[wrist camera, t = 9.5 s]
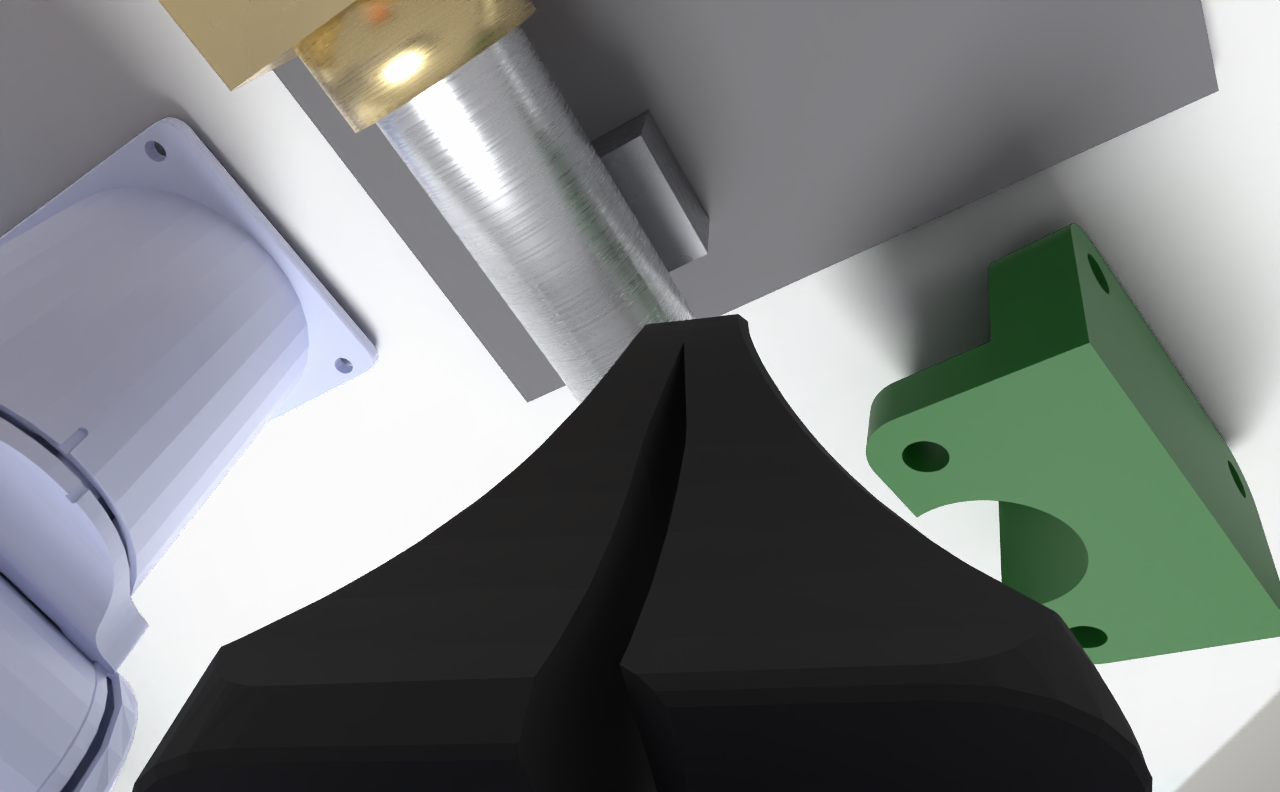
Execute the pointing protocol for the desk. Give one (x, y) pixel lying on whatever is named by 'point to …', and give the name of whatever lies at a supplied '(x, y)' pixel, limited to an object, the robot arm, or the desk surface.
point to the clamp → (1085, 463)
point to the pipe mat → (809, 123)
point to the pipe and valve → (492, 156)
